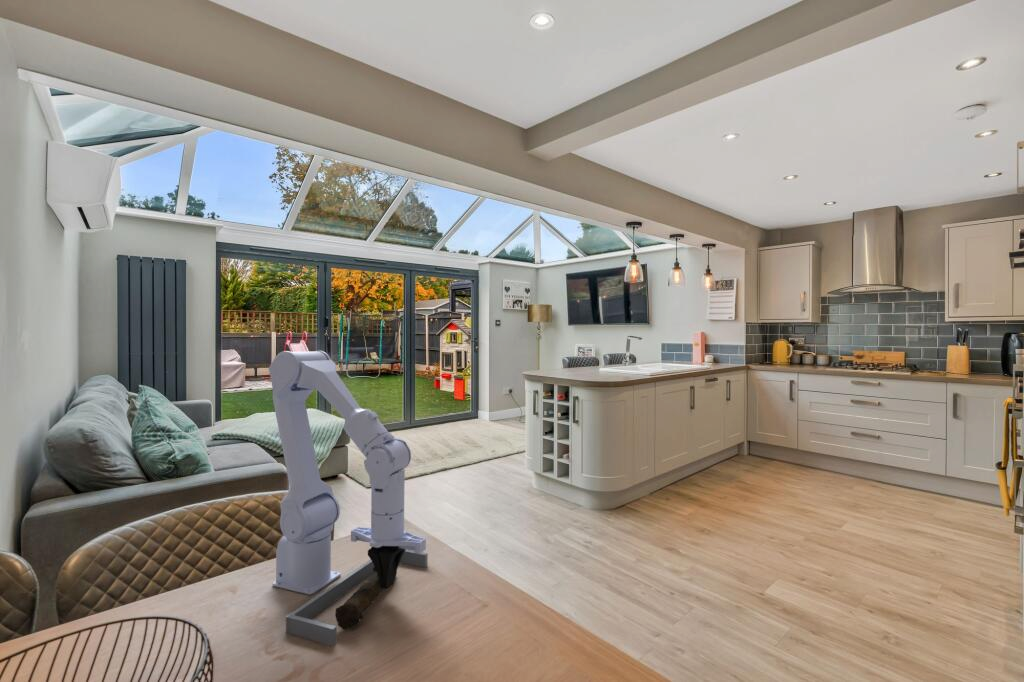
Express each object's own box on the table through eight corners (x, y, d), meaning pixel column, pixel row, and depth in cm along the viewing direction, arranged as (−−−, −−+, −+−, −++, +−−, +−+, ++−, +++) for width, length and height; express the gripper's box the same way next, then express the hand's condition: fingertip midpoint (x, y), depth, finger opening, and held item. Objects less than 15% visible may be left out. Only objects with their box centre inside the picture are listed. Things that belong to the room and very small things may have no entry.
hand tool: (360, 627, 74) (352, 598, 74) (338, 632, 75) (330, 603, 75) (409, 571, 93) (403, 548, 93) (391, 576, 93) (384, 552, 94)
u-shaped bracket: (285, 632, 75) (285, 616, 75) (389, 558, 100) (389, 546, 100) (332, 646, 71) (332, 629, 71) (427, 565, 97) (427, 553, 97)
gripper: (339, 511, 83) (338, 589, 83) (410, 523, 78) (409, 605, 78) (365, 499, 90) (364, 571, 90) (432, 509, 85) (431, 585, 85)
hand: (387, 586), depth 84 cm, fingers closed
